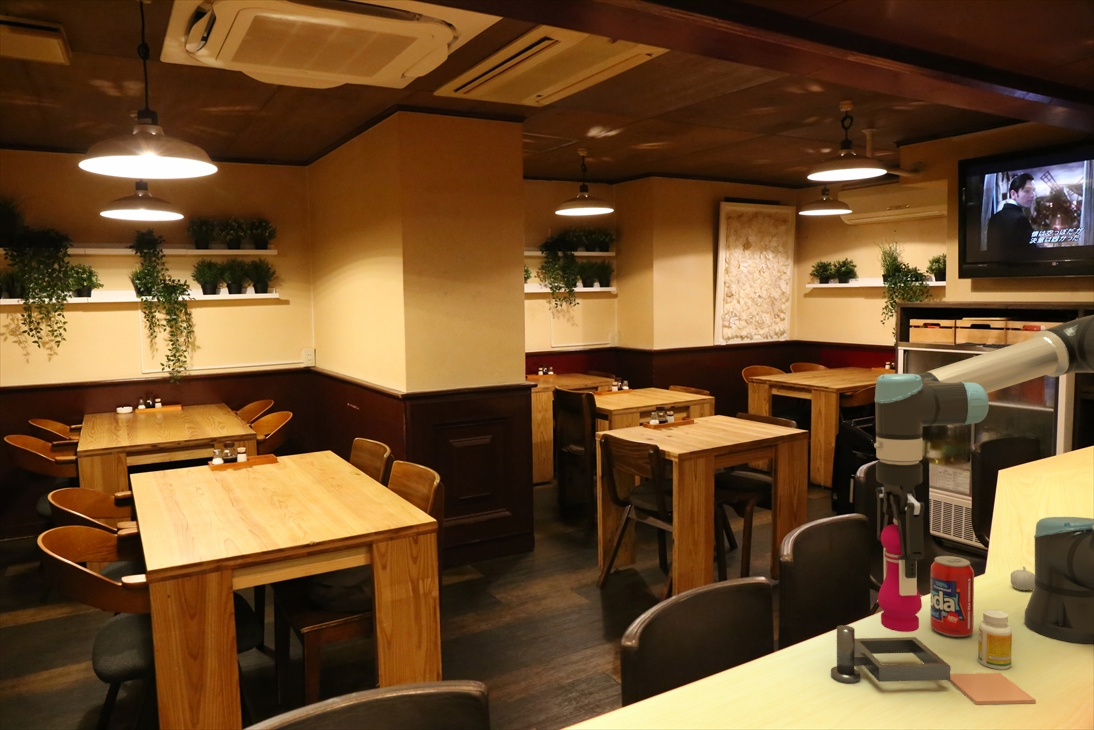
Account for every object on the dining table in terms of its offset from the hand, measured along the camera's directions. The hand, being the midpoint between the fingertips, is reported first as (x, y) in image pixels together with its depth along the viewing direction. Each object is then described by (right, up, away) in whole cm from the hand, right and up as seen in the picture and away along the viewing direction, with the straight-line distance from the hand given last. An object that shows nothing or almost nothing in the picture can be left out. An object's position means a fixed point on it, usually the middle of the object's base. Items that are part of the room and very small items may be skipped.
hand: (899, 588), depth 139 cm
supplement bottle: (+20, -16, +5) cm, 26 cm away
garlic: (+49, -13, +44) cm, 68 cm away
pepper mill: (0, -7, +1) cm, 7 cm away
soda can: (+20, -15, +20) cm, 32 cm away
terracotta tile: (+13, -16, -5) cm, 21 cm away
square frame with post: (-3, -16, +1) cm, 16 cm away
